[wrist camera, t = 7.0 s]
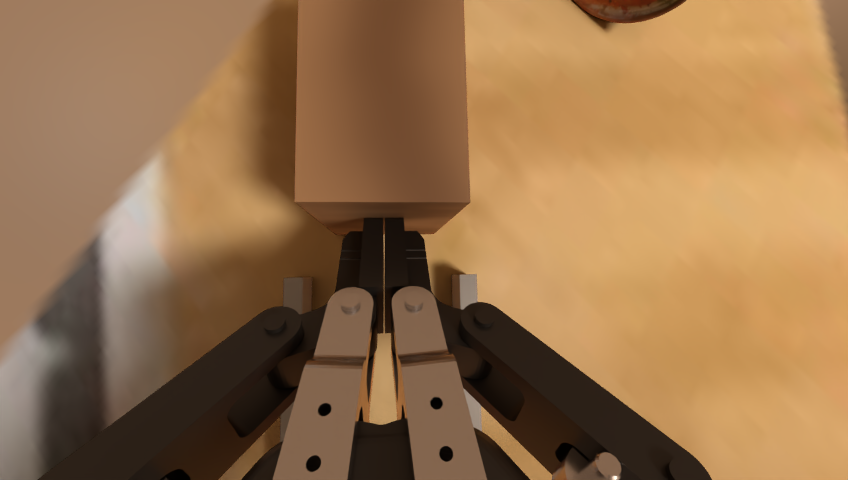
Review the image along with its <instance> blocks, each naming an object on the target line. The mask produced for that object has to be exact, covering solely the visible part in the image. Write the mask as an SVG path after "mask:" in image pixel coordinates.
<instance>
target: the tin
mask: <svg viewBox="0 0 848 480" xmlns="http://www.w3.org/2000/svg"><path fill="white" fill-rule="evenodd" d="M573 1H574V2H575V3H577V4H578V5H579V6H580V7H581V8H582V9H584V10H585V11H586V12H588V13H590V14H591V15H593V16H595V17H598V18H600V19H603V20H606V21H610V22H615V23H635V22H641V21H646V20H649V19H653V18H656V17H658V16H661V15H663V14H665V13H667V12H669V11H671V10H673V9H674V8H676V7H678V6H679V5H681V4H682V3H684V2H685V1H686V0H573Z"/></svg>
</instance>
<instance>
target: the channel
mask: <svg viewBox="0 0 848 480" xmlns="http://www.w3.org/2000/svg"><path fill="white" fill-rule="evenodd" d="M476 302H478V301H477V274H460V275H452V307H455V308H459V309H464V308H465V307H466V306H468V305H469V304H472V303H476ZM283 306H284V307H289V308H292V309H294V310H296V311H297V312H298V314H303V313H306V312H310V311H312V277H293V278H284V290H283ZM463 389H464V388H463ZM464 393H465V397H466V401H467V404H468V408H469V412H470V416H471V420H472V424H473V427H475V428H477V429H479V430H480V431H482V426H481V405H480V404H479V403H478V402H477V401H476V400H475V399H474V398H473V397H472V396H471V395H470V394H469V393H468V392H467V391H466V390H465V389H464ZM293 405H294V402H293V403H292V404H291V405H290V406H289V407H288V408H287V409H286V410H285V411H284V412H283V413H282V414H281V424H280V442H281V441H283V440H284V437H285V433H286V430H287V426H288V423H289V419H290V416H291V412H292V408H293Z"/></svg>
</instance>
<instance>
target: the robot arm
mask: <svg viewBox="0 0 848 480" xmlns="http://www.w3.org/2000/svg"><path fill="white" fill-rule="evenodd" d="M383 275H384V253H383V218H364V223H363V231H350V232H349V233H348V234H347V235H346V237H345V238H344V239H343V243H342V249H341V256H340V263H339V270H338V277H337V284H336V290H335V293H334V294H333V295H332V296H331V297H330V299H329V301H328V303H327V304H326V305H324V306H322V307H321V308H319V309H316V310H313V311H310V312H306V313H303V314H298V312H297V311H296V310H294V309H292V308H289V307H284V306H280V307H273V308H270V309H267V310H265V311H263V312H262V313H260V314H259V315H257V316H256V317H255V318H253V319H252V320H251V321H249V322H248V323H247V324H245V325H244V326H243V327H241V328H240V329H239V330H237V331H236V332H235V333H233V334H232V335H231V336H229V337H228V338H227V339H225V340H224V341H223V342H221V343H220V344H219V345H217V346H216V347H215V348H213V349H212V350H211V351H209V352H208V353H207V354H205V355H204V356H203V357H201V358H200V359H199V360H197V361H196V362H195V363H193V364H192V365H190V366H189V367H188V368H186V369H185V370H184V371H182V372H181V373H180V374H178V375H177V376H176V377H174V378H173V379H172V380H170V381H169V382H168V383H166V384H165V385H164V386H162V387H161V388H160V389H158V390H157V391H156V392H154V393H153V394H152V395H150V396H149V397H148V398H146V399H145V400H144V401H142V402H141V403H140V404H138V405H137V406H136V407H134V408H133V409H132V410H130V411H129V412H128V413H126V414H125V415H124V416H122V417H121V418H120V419H118V420H117V421H116V422H114V423H113V424H112V425H110V426H109V427H107V428H106V429H105V430H103V431H102V432H101V433H99V434H98V435H97V436H95V437H94V438H93V439H91V440H90V441H89V442H87V443H86V444H85V445H83V446H82V447H81V448H79V449H78V450H77V451H75V452H74V453H73V454H71V455H70V456H69V457H67V458H66V459H65V460H63V461H62V462H61V463H59V464H58V465H57V466H55V467H54V468H53V469H51V470H50V471H49V472H47V473H46V474H45V475H43V476H42V477H41V478H39V479H38V480H218V479H219V478H220V477H221V476H222V475H223V474H224V473H225V472H226V471H227V470H228V469H229V468H230V467H231V466H232V465H233V464H234V463H235V462H236V461H237V459H238V458H239V457H240V456H241V455H242V454H243V453H244V452H245V451H246V450H247V449H248V448H249V447H250V446H251V445H252V444H253V443H254V442H255V441H256V440H257V439H258V438H259V437H260V436H261V435H262V434H263V433H264V432H265V431H266V430H267V429H268V428H269V427H270V426H271V425H272V424H273V423H274V422H275V421H276V420H277V419H278V417H279V416H280V415H281V414H282V413H283V412H284V411H285V410H286V409H287V408H288V407H289V406H290V405H291V404H292V403H293V402H294V405H293V408H292V412H291V416H290V419H289V423H288V426H287V430H286V433H285V437H284V440H283V441H281V442H280V443H278V444H277V445H276V446H274V447H273V448H272V449H270V450H269V451H268V452H267V453H266V454H265V455H264V456H263V457H261V458H260V459H259V461H258V462H257V463H256V464H255V465H254V466H253V467H252V468H251V469H250V471H249V472H248V473H247V474H246V475H245V476H244V477H243V478H242V480H530V479H529V478H528V477H527V476H526V475H525V474H524V473H523V471H522V470H521V469H520V468H519V467H518V466H517V465H516V464H515V463H514V462H513V461H512V459H511V458H510V457H509V456H508V455H507V454H506V453H505V452H504V451H503V450H502V449H501V447H500V446H499V445H498V444H497V443H496V442H495V441H493V440H492V439H491V438H490V437H489V436H488V435H486V434H485V433H483V432H482V431H480V430H479V429H477V428H475V427H473V424H472V420H471V416H470V412H469V408H468V404H467V401H466V397H465V393H464V389H465V390H466V391H467V392H468V393H469V394H470V395H471V396H472V397H473V398H474V399H475V400H476V401H477V402H478V403H479V404H480V405H481V406H482V407H483V408H484V409H485V410H486V411H487V412H488V413H489V414H491V415H492V416H493V417H494V418H495V419H496V420H497V421H498V422H499V423H500V424H501V425H502V426H503V427H504V428H505V429H506V430H507V431H508V432H509V433H510V434H511V435H512V436H513V437H514V438H515V439H516V440H517V441H518V442H519V443H520V444H521V445H522V446H523V447H524V448H525V449H526V450H527V451H528V452H529V453H530V454H531V455H533V456H534V457H535V458H536V459H537V460H538V461H539V462H540V463H541V464H542V465H543V466H544V467H545V468H546V469H547V470H548V471H549V472H550V473H551V474H552V475H553V476H552V480H712V479H711V477H710V475H709V474H708V472H707V471H706V469H705V468H704V467H703V466H702V464H701V463H700V462H699V461H698V460H697V459H696V458H695V457H694V456H692V455H691V454H690V453H689V452H687V451H686V450H685V449H683V448H682V447H681V446H680V445H678V444H677V443H676V442H674V441H673V440H672V439H670V438H669V437H668V436H666V435H665V434H664V433H662V432H661V431H660V430H658V429H657V428H656V427H654V426H653V425H652V424H650V423H649V422H648V421H646V420H645V419H644V418H642V417H641V416H640V415H638V414H637V413H636V412H634V411H633V410H632V409H630V408H629V407H628V406H627V405H625V404H624V403H623V402H621V401H620V400H619V399H617V398H616V397H615V396H613V395H612V394H611V393H609V392H608V391H607V390H605V389H604V388H603V387H601V386H600V385H599V384H597V383H596V382H595V381H593V380H592V379H591V378H589V377H588V376H587V375H585V374H584V373H583V372H581V371H580V370H579V369H578V368H576V367H575V366H574V365H572V364H571V363H570V362H568V361H567V360H566V359H564V358H563V357H562V356H560V355H559V354H558V353H556V352H555V351H554V350H552V349H551V348H550V347H548V346H547V345H546V344H544V343H543V342H542V341H540V340H539V339H538V338H536V337H535V336H534V335H532V334H531V333H530V332H528V331H527V330H526V329H525V328H523V327H522V326H521V325H519V324H518V323H517V322H515V321H514V320H513V319H511V318H510V317H509V316H507V315H506V314H505V313H503V312H502V311H501V310H499V309H498V308H497V307H495V306H493V305H491V304H488V303H484V302H476V303H472V304H469V305H468V306H466V307H465V308H464V309H459V308H455V307H451V306H448V305H445V304H443V303H442V302H440V301H439V300H438V299H437V298H436V297H435V296H434V295H433V293H432V291H431V286H430V279H429V272H428V265H427V259H426V251H425V243H424V239H423V238H422V236H421V235H420V234H419V232H418V231H405V229H404V218H385V333H391V358H392V368H393V377H394V387H395V397H396V408H397V421H394V422H391V423H388V424H384V425H377V424H373V423H369V413H370V401H371V392H372V383H373V373H374V364H375V351H376V349H377V333H383ZM463 388H464V389H463Z"/></svg>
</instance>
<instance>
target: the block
mask: <svg viewBox="0 0 848 480" xmlns="http://www.w3.org/2000/svg"><path fill="white" fill-rule="evenodd" d="M295 203H297V204H298V205H299V206H300V207H302V208H303V209H304V210H306V211H307V212H308V213H309V214H311V215H312V216H313V217H314V218H316V219H317V220H318V221H319V222H321V223H322V224H323V225H324V226H326V227H327V228H328V229H329V230H331V231H332V232H333V233H335V234H336V235H342V234H348V233H349V232H350V231H363V223H364V218H383V234H385V218H404V229H405V231H418V232H419V234H434V233H435V232H436V231H438V230H439V229H440V228H441V227H442V226H443V225H445V224H446V223H447V222H448V221H449V220H450V219H452V218H453V217H454V216H455V215H456V214H457V213H459V212H460V211H461V210H462V209H463V208H464V207H465V206H467V205H468V204H469V203H470V181H469V150H468V119H467V88H466V57H465V26H464V0H298V38H297V93H296V148H295Z"/></svg>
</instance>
